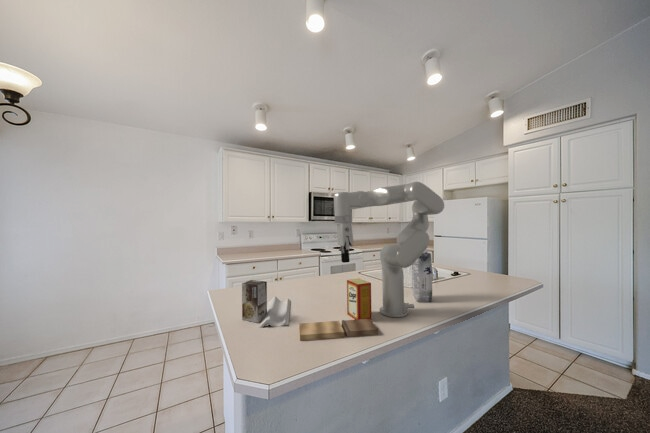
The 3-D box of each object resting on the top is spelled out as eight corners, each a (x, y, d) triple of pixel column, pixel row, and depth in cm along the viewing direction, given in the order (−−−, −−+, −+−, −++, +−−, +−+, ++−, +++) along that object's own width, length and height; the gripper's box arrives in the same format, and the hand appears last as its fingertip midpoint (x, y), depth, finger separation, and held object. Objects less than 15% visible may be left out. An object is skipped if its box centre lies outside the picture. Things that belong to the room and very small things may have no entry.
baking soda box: (347, 314, 110) (346, 279, 110) (359, 312, 112) (358, 277, 113) (358, 321, 101) (358, 283, 101) (371, 319, 104) (370, 282, 104)
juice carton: (415, 302, 124) (414, 250, 125) (411, 296, 135) (410, 248, 136) (433, 303, 123) (432, 250, 124) (428, 297, 133) (427, 248, 134)
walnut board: (369, 323, 99) (369, 318, 99) (377, 334, 89) (377, 328, 89) (341, 325, 97) (341, 320, 97) (347, 337, 87) (347, 330, 88)
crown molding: (288, 327, 98) (288, 318, 98) (258, 329, 96) (258, 320, 96) (290, 302, 129) (290, 295, 129) (267, 303, 127) (267, 296, 127)
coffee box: (267, 317, 106) (267, 281, 107) (257, 323, 100) (257, 284, 101) (251, 314, 110) (251, 279, 111) (241, 319, 104) (241, 282, 105)
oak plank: (338, 325, 97) (338, 320, 97) (344, 337, 87) (344, 331, 87) (299, 328, 95) (299, 323, 95) (300, 340, 85) (300, 335, 85)
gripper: (356, 219, 99) (359, 264, 98) (347, 220, 113) (349, 259, 113) (339, 220, 97) (341, 265, 97) (331, 220, 112) (333, 260, 112)
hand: (345, 262), depth 105 cm, fingers closed
